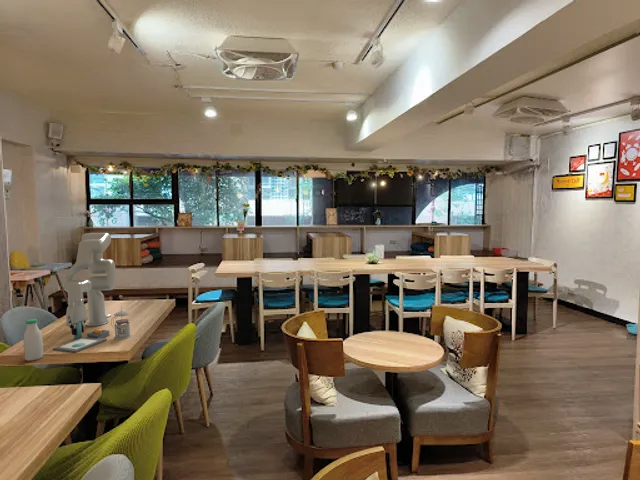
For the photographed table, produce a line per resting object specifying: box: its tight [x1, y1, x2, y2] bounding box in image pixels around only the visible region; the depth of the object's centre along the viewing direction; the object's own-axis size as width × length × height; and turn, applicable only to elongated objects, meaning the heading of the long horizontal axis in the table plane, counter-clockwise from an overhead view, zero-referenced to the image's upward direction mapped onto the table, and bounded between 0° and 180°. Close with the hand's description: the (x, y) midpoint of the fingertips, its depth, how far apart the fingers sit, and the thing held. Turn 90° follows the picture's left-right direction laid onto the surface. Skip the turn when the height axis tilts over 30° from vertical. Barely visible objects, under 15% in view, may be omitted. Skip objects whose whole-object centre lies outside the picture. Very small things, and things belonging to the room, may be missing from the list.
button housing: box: [86, 329, 110, 339], centre depth 238 cm, size 8×8×3 cm
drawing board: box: [52, 336, 107, 353], centre depth 225 cm, size 20×16×1 cm
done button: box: [94, 328, 103, 334], centre depth 238 cm, size 4×4×3 cm
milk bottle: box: [23, 318, 44, 362], centre depth 205 cm, size 8×8×20 cm
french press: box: [110, 294, 133, 341], centre depth 237 cm, size 10×12×25 cm
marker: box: [73, 321, 83, 340], centre depth 236 cm, size 4×4×12 cm
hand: (77, 333), depth 237 cm, fingers closed on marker, 4 cm apart
